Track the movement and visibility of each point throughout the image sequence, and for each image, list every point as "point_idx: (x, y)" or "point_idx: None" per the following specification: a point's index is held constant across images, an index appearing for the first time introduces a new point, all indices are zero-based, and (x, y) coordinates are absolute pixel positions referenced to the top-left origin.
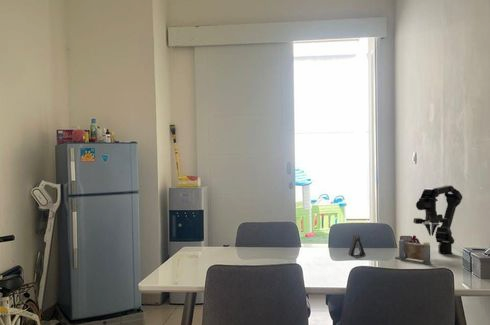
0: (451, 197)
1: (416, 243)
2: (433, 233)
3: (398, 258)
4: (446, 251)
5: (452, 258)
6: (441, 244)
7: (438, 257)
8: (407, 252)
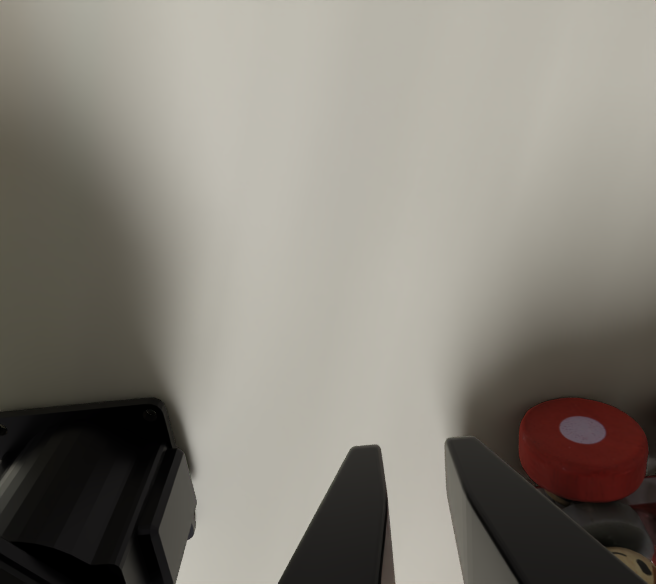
0: None
1: None
2: (332, 498)
3: None
4: (75, 434)
5: (12, 16)
6: (116, 542)
7: (267, 85)
8: None
